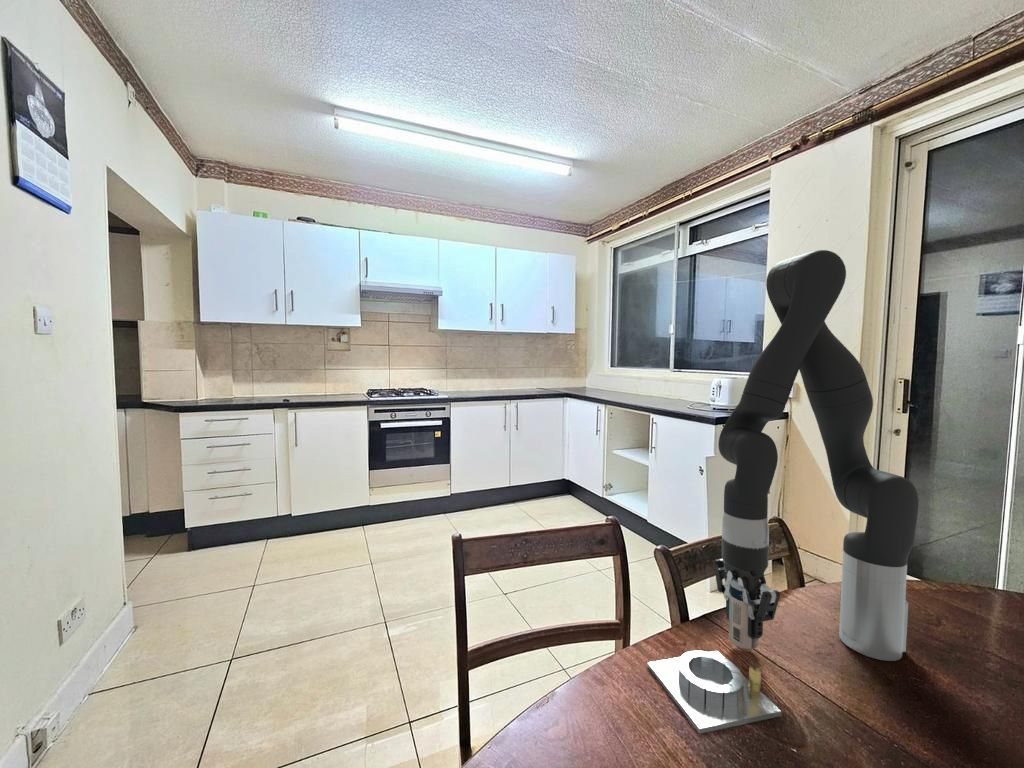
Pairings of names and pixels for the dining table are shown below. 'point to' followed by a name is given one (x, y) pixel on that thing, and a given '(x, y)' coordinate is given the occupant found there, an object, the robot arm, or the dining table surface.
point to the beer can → (739, 618)
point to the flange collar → (713, 690)
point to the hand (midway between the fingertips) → (743, 627)
